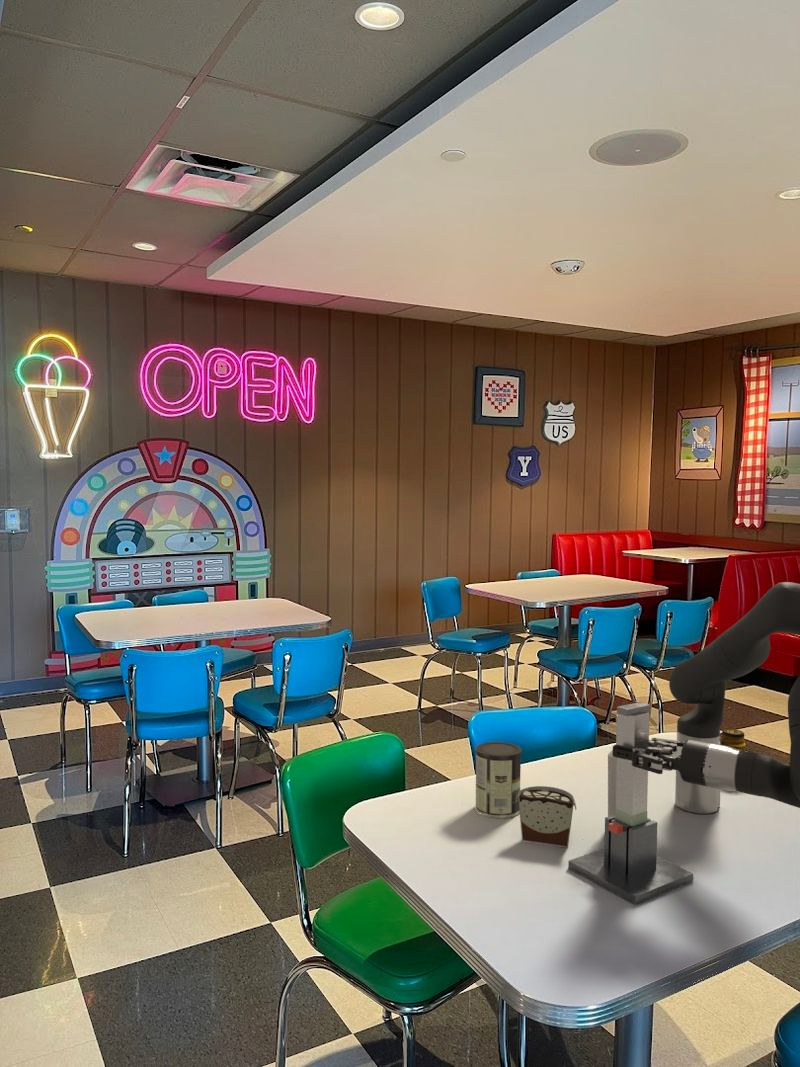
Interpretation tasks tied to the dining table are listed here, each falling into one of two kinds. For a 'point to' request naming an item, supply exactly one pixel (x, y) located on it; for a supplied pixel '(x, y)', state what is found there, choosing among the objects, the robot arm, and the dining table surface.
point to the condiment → (733, 739)
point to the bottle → (612, 779)
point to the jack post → (629, 777)
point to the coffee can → (497, 779)
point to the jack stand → (630, 863)
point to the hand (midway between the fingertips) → (619, 746)
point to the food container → (545, 815)
